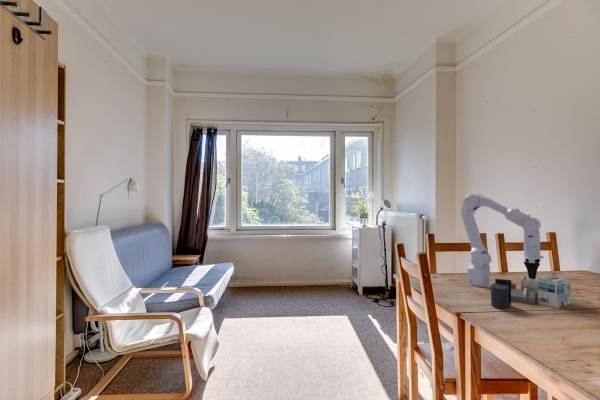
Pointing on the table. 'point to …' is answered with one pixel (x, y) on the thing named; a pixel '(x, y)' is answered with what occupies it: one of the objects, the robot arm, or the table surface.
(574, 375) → the table surface
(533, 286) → the block
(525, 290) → the stand
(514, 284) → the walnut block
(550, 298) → the light bulb box
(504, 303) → the speaker
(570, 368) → the table surface
